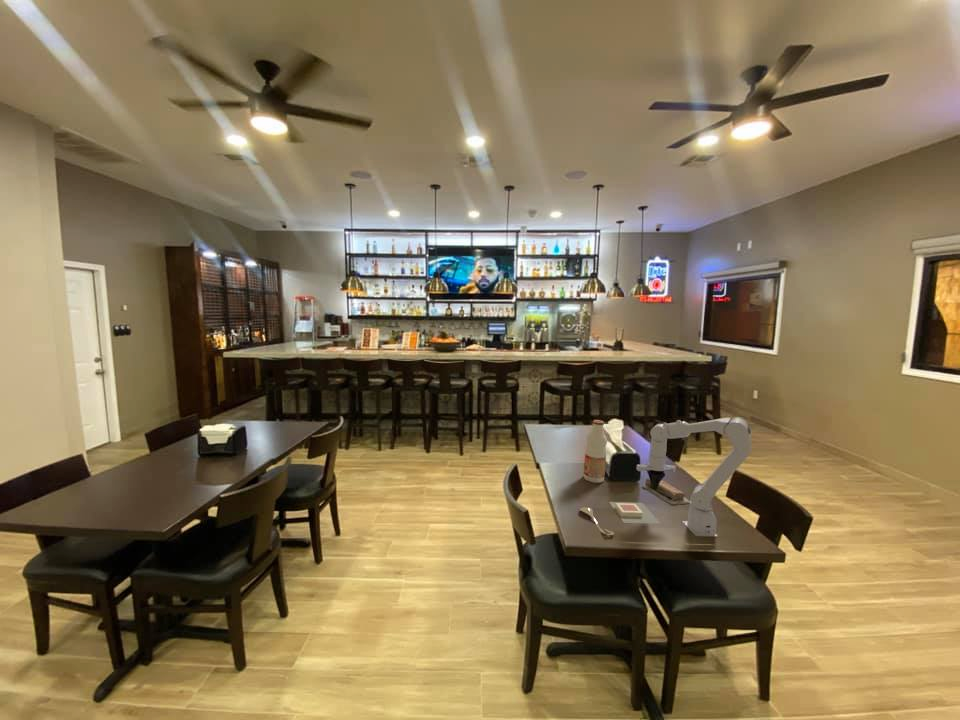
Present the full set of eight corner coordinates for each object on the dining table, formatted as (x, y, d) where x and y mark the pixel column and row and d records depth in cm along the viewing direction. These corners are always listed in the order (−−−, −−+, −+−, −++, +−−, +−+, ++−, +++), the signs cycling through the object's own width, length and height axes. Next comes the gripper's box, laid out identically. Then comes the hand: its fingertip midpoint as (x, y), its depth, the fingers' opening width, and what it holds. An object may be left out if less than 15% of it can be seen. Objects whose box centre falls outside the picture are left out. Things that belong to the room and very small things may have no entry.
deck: (642, 512, 151) (622, 511, 151) (642, 517, 151) (621, 516, 151) (635, 503, 158) (615, 503, 158) (634, 507, 158) (615, 507, 158)
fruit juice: (596, 485, 179) (601, 425, 175) (579, 477, 186) (583, 420, 182) (608, 480, 185) (613, 422, 181) (590, 473, 192) (595, 417, 188)
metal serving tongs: (618, 528, 137) (606, 529, 136) (617, 538, 137) (605, 539, 136) (588, 503, 156) (577, 504, 155) (587, 512, 156) (577, 513, 155)
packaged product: (642, 477, 179) (659, 475, 182) (641, 487, 179) (658, 485, 183) (673, 495, 162) (691, 493, 165) (671, 506, 163) (690, 504, 166)
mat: (660, 524, 147) (660, 523, 147) (623, 523, 147) (624, 522, 147) (642, 503, 163) (642, 502, 163) (608, 502, 163) (608, 501, 162)
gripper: (670, 451, 156) (666, 484, 158) (634, 450, 156) (631, 483, 158) (680, 458, 149) (676, 492, 151) (642, 457, 149) (639, 491, 151)
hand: (653, 488), depth 154 cm, fingers closed
